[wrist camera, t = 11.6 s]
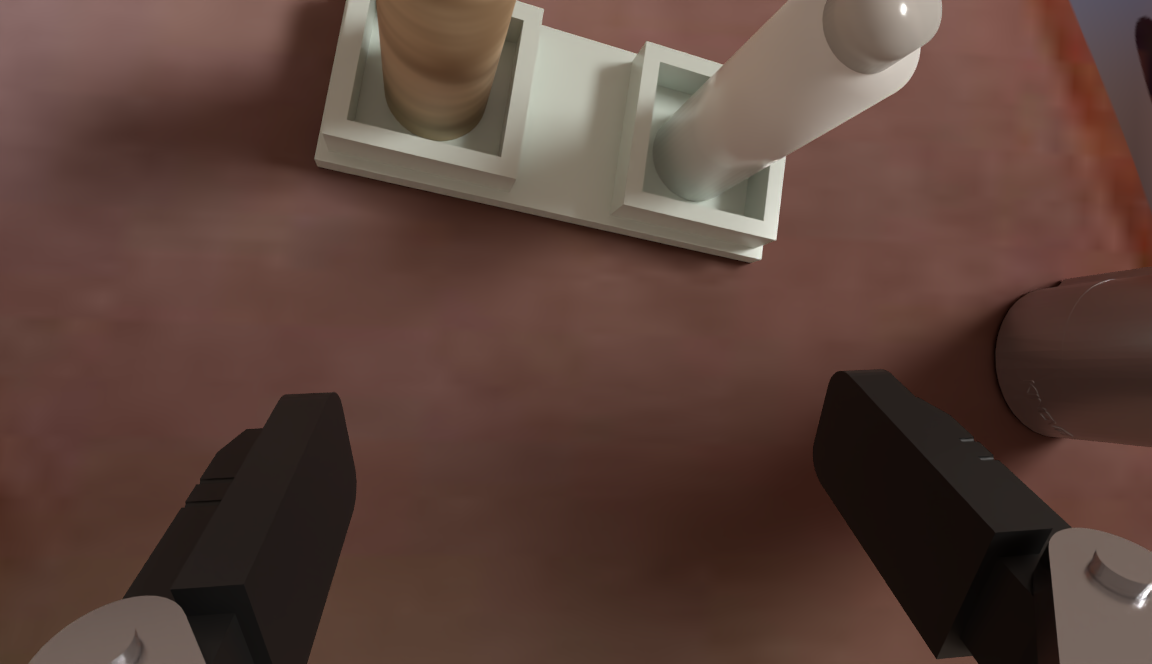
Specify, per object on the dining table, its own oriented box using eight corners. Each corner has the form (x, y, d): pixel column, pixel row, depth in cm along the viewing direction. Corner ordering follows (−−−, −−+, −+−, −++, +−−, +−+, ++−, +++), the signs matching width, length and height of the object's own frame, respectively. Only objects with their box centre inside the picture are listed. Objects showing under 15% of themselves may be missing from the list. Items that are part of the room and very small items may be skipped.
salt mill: (697, 96, 31) (902, -104, 18) (750, 166, 32) (987, 22, 19) (634, 146, 30) (805, -27, 17) (691, 219, 31) (899, 104, 18)
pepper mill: (442, 24, 28) (470, -281, 15) (507, 104, 29) (588, -123, 16) (362, 78, 27) (316, -200, 14) (430, 160, 28) (449, -33, 14)
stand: (317, 166, 27) (306, 141, 24) (354, -19, 28) (348, -64, 25) (750, 263, 33) (783, 252, 30) (769, 105, 34) (803, 80, 31)
